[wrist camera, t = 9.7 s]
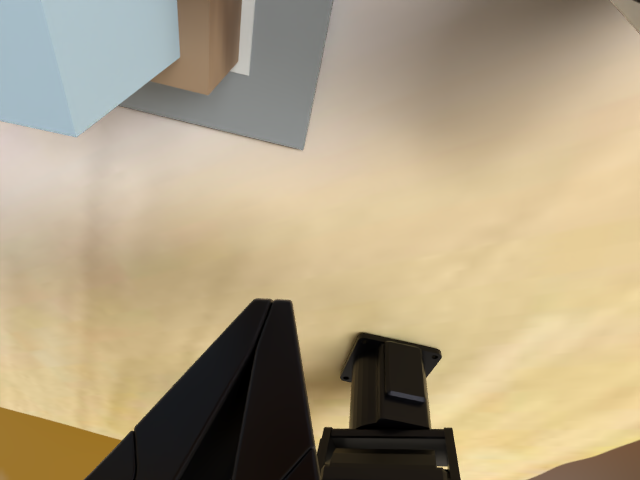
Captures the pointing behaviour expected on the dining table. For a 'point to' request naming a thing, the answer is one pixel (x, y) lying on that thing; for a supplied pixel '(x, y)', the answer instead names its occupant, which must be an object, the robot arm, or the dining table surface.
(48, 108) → the blue block
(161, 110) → the build board
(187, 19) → the walnut base
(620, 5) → the cup
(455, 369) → the dining table surface
